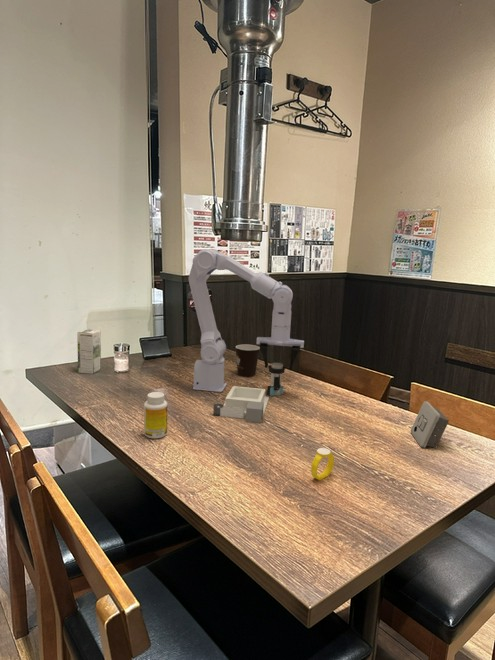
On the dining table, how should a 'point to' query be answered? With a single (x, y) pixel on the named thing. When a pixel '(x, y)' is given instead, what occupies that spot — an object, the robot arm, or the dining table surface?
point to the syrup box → (89, 351)
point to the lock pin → (228, 411)
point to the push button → (276, 379)
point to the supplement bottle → (155, 415)
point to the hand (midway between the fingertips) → (278, 368)
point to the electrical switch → (429, 426)
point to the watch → (320, 454)
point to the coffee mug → (247, 359)
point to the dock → (248, 401)
